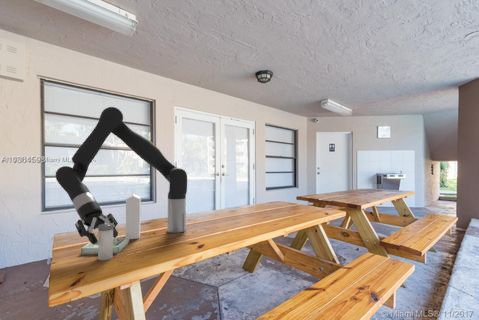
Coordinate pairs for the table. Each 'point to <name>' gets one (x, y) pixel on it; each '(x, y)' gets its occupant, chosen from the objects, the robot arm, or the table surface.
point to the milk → (133, 216)
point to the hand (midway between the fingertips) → (106, 239)
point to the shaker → (105, 241)
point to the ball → (118, 240)
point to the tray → (94, 248)
